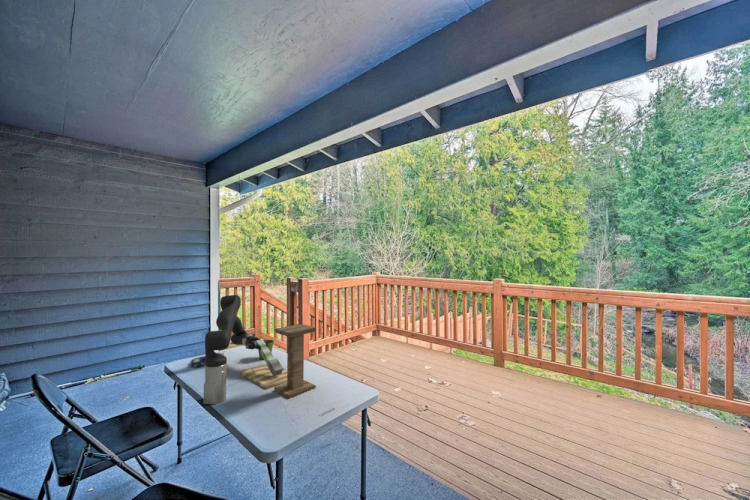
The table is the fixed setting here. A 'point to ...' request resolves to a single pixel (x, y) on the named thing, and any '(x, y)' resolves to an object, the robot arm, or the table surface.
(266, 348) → the sanding stick
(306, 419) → the table surface
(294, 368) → the shelf stand
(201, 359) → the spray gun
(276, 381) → the pine board
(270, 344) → the plant pot
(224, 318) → the robot arm
